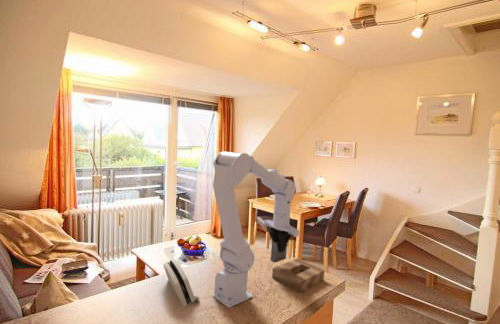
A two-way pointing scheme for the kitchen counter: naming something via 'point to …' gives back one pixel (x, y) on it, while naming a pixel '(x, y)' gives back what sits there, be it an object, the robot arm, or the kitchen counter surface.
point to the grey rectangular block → (277, 252)
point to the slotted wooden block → (298, 274)
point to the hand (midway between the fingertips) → (279, 250)
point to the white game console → (180, 282)
